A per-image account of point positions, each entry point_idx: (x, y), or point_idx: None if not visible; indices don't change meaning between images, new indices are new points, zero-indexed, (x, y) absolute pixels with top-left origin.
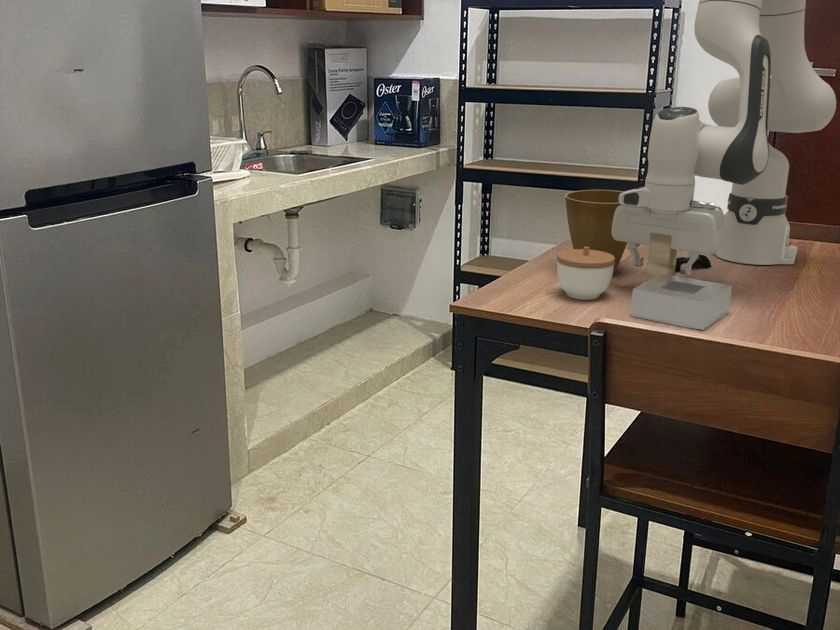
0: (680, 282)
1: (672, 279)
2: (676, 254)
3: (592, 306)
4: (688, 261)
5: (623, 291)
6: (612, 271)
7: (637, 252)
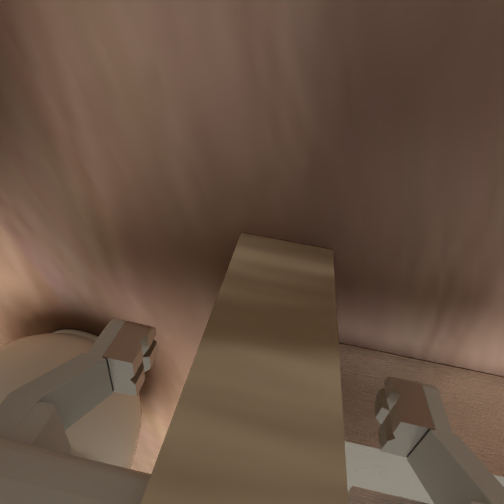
0: (384, 491)
1: (349, 476)
2: (341, 430)
3: (160, 420)
4: (432, 497)
5: (157, 295)
6: (123, 455)
7: (82, 384)
